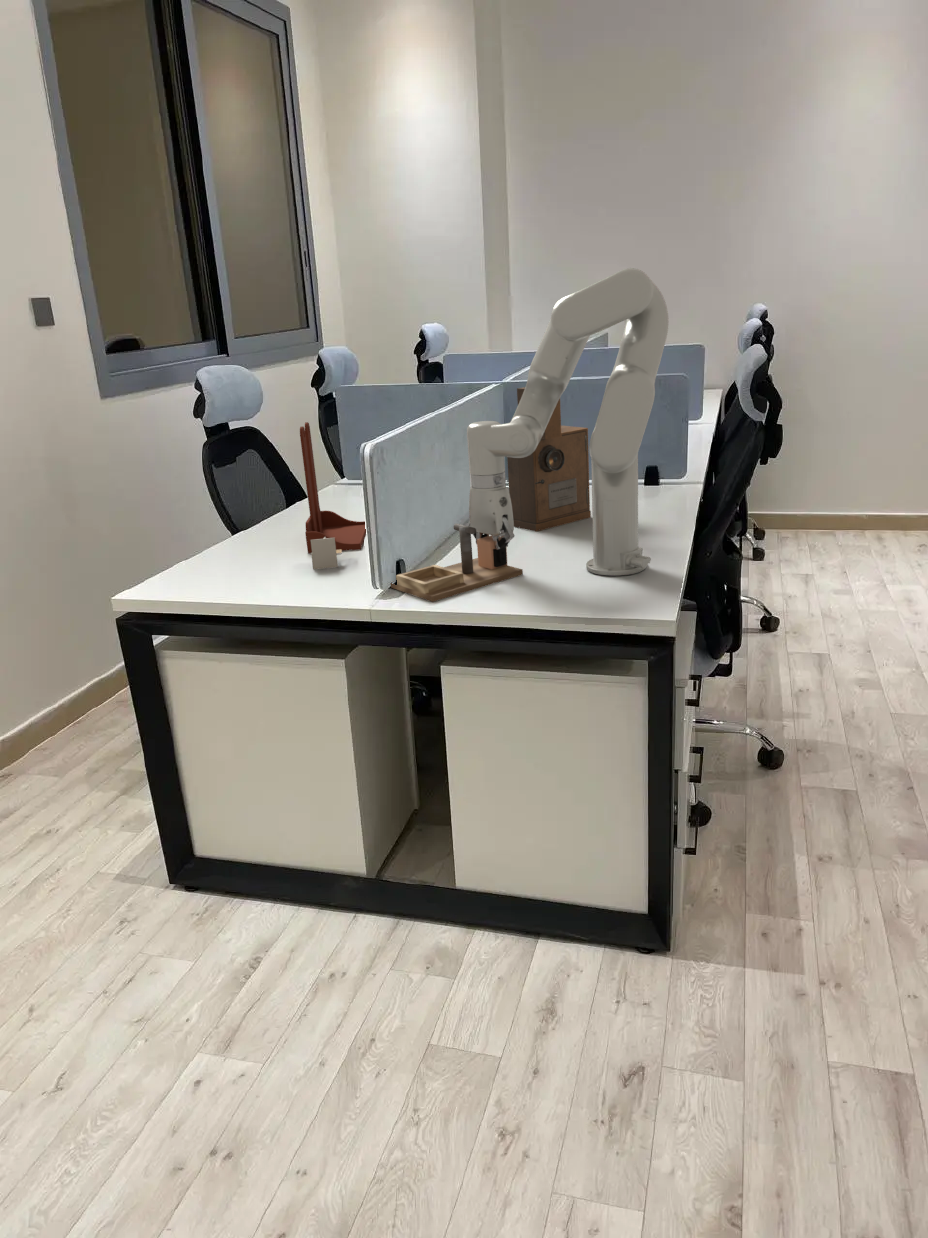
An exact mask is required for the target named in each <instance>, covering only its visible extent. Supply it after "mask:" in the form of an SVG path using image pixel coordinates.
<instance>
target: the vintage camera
mask: <svg viewBox="0 0 928 1238" xmlns="http://www.w3.org/2000/svg"><path fill="white" fill-rule="evenodd" d="M525 387H526V386H525ZM525 387H518V388H516V395H517V396H516V397H517V399H516V400H517V405H518V404H519V402H520V400H521V397H522V395H523V392H524V390H525ZM561 413H562V412H561V397H560V398H559V400H558V403H557V405H556V407H555V409H554V411H553V413H552V416H551V418H550V420H549V422H548V424H547V427H546V429H545V431H544V433H543V436H542V438H541V440H540V442H539V444H538V446H537V448H536V449H535V451H534V452H533V453H532V454H531V455H529V456H527V457H524V458H512V457H506V458H507V459H506V461H507V475H508V476H507V478H508V490H509V494H510V498H511V504H512V511H513V521H514V528H519V529H523V530H527V531H531V532H536V533H537V532H541V531H543V530H548V529H551V528H555V527H559V526H564V525H567V524H570V523H571V524H572V523H575V522H578V521H581V520H586V519H590V518H591V517H592V515H591V514H592V513H591V512H592V511H591V502H590V465H589V462H590V461H589V460H590V459H589V456H590V454H589V428H588V427H582V426H572V425H570V426H569V425H562V416H561Z"/></svg>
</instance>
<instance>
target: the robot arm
mask: <svg viewBox="0 0 928 1238" xmlns="http://www.w3.org/2000/svg"><path fill="white" fill-rule="evenodd" d="M621 322H624V329H623V333H622V337H621V340H620V343H619V348H618V351H617V352H618V353H617V356H616V359H615V363H614V366H613V369H612V372H611V374H610V376H609V377H608V380H607V382H606V385H605V389H604V394H603V397H602V399H601V404H600V408H599V410H598V415H597V418H596V421H595V424H594V429H593V431H592V433H591V436H590V439H589V444H588V454H589V456H590V459H591V460H590V462H591V468H590V469H591V504H592V505H591V507H592V511H591V512H592V513H591V514H592V515H591V517H592V547H593V548H592V553H593V555H592V556H593V558H591V559H589V560H588V561H587V562H586V564H585V565H586V570H587V571H588V572H590V573H592V574H596V575H600V576H601V575H602V576H610V577H611V576H612V577H613V576H614V577H616V576H617V577H618V576H627V575H634V574H638V573H640V572H642V571H644V570H645V569H646V568H647V567H648V565H649V564H650V563H651V561H652V560H651V559H652V558H651V557H650V556H646V555H643V548H642V547H639V451H640V447H641V445H642V441H643V438H644V435H645V431H646V428H647V426H648V422H649V419H650V415H651V413H652V410H653V409H652V408H653V406H654V401H655V397H656V396H655V395H656V389H655V384H656V383H655V382H656V379H657V376H658V375H657V374H658V371H659V367H660V364H661V360H662V356H663V352H664V349H665V345H666V341H667V337H668V331H669V313H668V307H667V304H666V300H665V298H664V295H663V294H662V292H661V291H660V289H659V288H658V286H657V285H656V284H655V283H654V281H653V280H651V278H650V277H649V275H647V273H645V272H644V271H643V270H641V269H638V268H631V267H629V268H624V269H621V270H619V271H617V272H615V273H613V274H611V275H609V276H607V277H605V278H603V279H601V280H599V281H597V282H595V283H592V284H590V285H589V286H586V287H583V288H582V289H579V290H577V291H575V292H573V293H570V294H567V295H566V296H563V297H561V298H560V299H559V300H558V301H557V302H556V303H555V304H554V307H553V308H552V311H551V313H550V319H549V322H548V323H547V326H546V329H545V332H544V334H543V335H542V339H541V341H540V343H539V345H538V347H537V349H536V351H535V354H534V357H533V358H532V361H531V363H530V366H529V369H528V375H527V381H526V384H525V390H524V392H523V395H522V397H521V400H520V402H519V404H518V403H517V407H516V409H515V412H514V414H513V416H512V417H511V420H510V422H507V423H500V422H498V421H496V420H495V421H494V420H483V421H482V420H481V421H480V420H479V421H474V422H472V423H470V424H469V425H468V426H467V428H466V439H467V440H466V441H467V451H468V453H467V454H468V455H467V456H468V469H469V471H468V472H469V483H470V484H469V487H470V488H469V497H468V510H469V511H468V512H469V513H468V515H469V524H468V526H470V527H473V528H476V533H475V534H472V536H473V537H474V539H475V544H476V545H477V539H480V538H483V537H487V536H491V535H492V536H493V541H494V546H495V549H493V556H494V567H500V566H503V565H506V564H507V565H508V555H507V556H506V547H507V548H508V547H509V544H510V542H511V541H512V540H513V539H514V538H515V536H516V535H515V534H514V530H515V527H514V521H513V511H512V504H511V498H510V494H509V487H508V486H507V483H506V482H507V479H506V467H505V458H507V457H512V458H524V457H527V456H529V455H531V454H532V453H533V452H534V451H535V449H536V448H537V446H538V444H539V442H540V440H541V438H542V436H543V433H544V431H545V429H546V427H547V424H548V422H549V420H550V418H551V416H552V413H553V411H554V409H555V407H556V405H557V403H558V400H559V398H560V399H561V397H562V395H563V394H564V392H565V390H567V387H568V385H569V383H570V381H571V378H572V376H573V374H574V371H575V369H576V367H577V365H578V363H579V360H580V358H581V356H582V355H583V352H584V350H585V348H586V345H587V343H588V341H589V338H590V337H591V336H593V335H595V334H597V333H599V332H602V331H603V330H606V329H608V328H611V327H612V326H615V325H617V324H619V323H621ZM498 537H501V540H500V541H499V539H498Z"/></svg>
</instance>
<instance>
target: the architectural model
mask: <svg viewBox="0 0 928 1238" xmlns="http://www.w3.org/2000/svg"><path fill="white" fill-rule="evenodd" d="M311 548H312V553H310V554H311V561H312V569H313V570H323V569H331V568H338V567H339V565H338V564H339V563H338V557H337V555H342V554H343V551H342V550H341V549H340V550H336V545H335V538H326V537H324V538H323V539H316V540H311Z"/></svg>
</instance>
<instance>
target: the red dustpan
mask: <svg viewBox="0 0 928 1238" xmlns="http://www.w3.org/2000/svg"><path fill="white" fill-rule="evenodd" d="M310 427H311V426H310V423H309V421H308V422H305V423H304V426H300V427H299V437H300V445H301V452H302V453H301V454H302V462H303V470H304V476H305V487H306V493H307V495H306V496H307V500H308V501H307V502H308V510H309V516H308V518H307V520H306V521H305V539H306V540H305V541H306V547H307V554H311V553H312V548H311V540H316V539H323V538H324V537H326V538H335V545H336V550H340V549H341V550H342V552H343V551H345V552H346V551H357V550H361V549H362V547H363V545H364V541H365V539H366V537H367V534H366V529H365V521H364V520H363V521H357V520H350V519H348V518H345V517H343V516H341V515H339V514H338V513H336V512H334V511H331V510H321V508H320V507H321V506H320V502H319V491H318V484H317V475H316V468H315V466H316V465H315V459H314V451H313V444H312V435H311V428H310Z"/></svg>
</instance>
